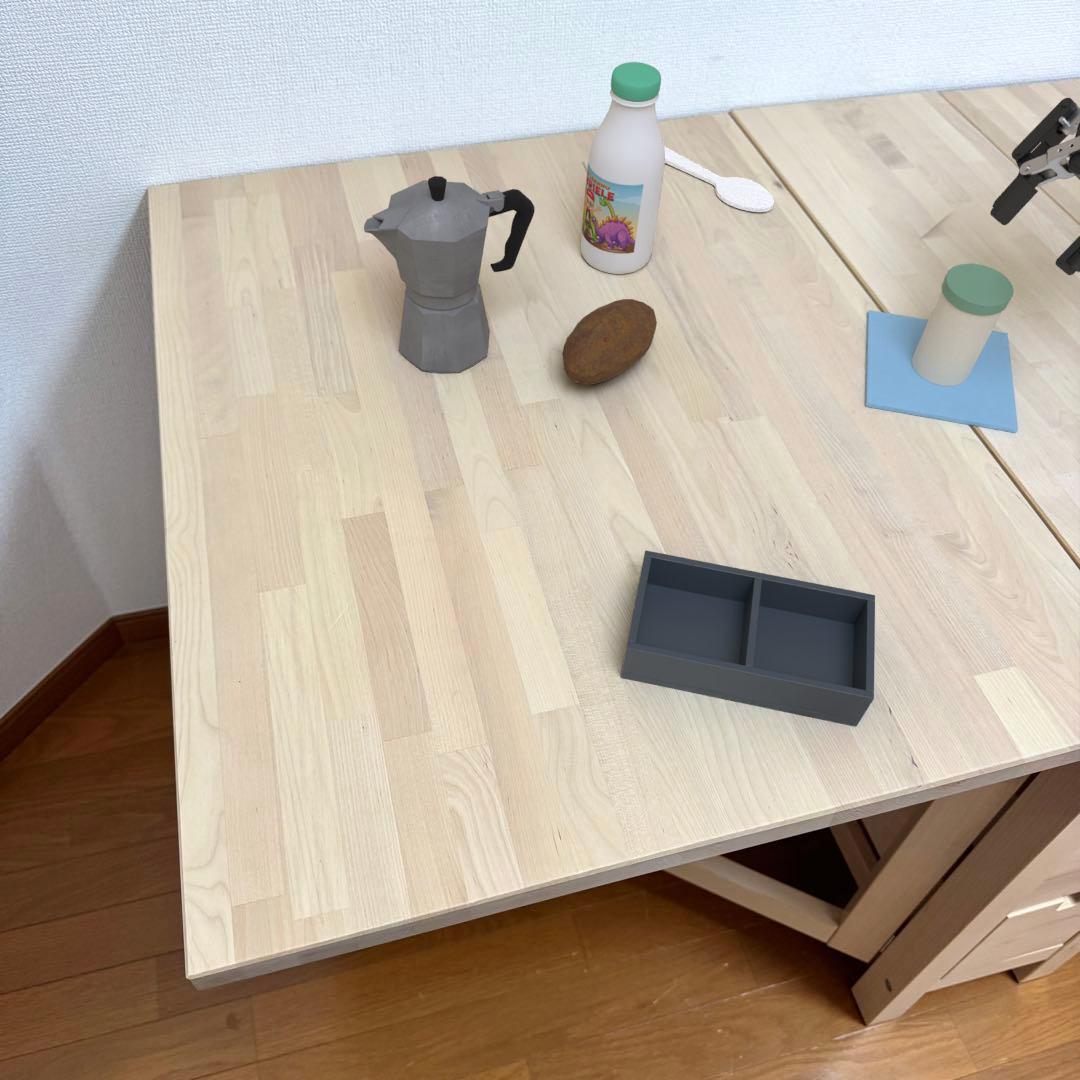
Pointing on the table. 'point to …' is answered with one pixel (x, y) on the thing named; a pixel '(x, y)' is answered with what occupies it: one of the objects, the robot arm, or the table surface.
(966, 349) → the container
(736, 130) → the table surface
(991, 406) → the mat
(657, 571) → the divided tray
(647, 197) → the milk bottle
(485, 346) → the coffeepot
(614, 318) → the potato
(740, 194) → the spoon
